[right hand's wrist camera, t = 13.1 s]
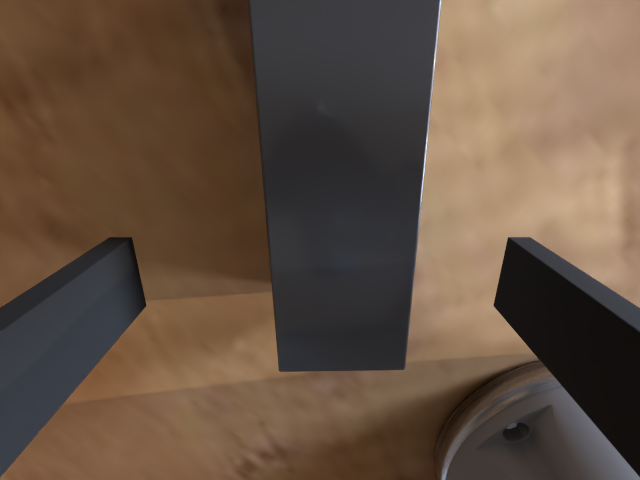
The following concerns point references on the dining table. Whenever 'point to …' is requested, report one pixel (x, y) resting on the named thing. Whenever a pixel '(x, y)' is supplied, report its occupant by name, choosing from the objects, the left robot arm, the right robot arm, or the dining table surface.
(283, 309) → the rail
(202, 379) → the dining table surface
